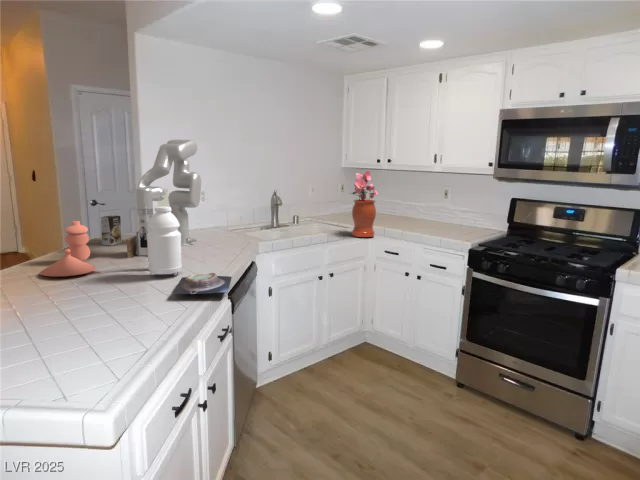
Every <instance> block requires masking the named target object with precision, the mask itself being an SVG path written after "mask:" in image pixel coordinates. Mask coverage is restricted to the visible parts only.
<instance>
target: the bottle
mask: <svg viewBox="0 0 640 480" xmlns="http://www.w3.org/2000/svg"><path fill="white" fill-rule="evenodd" d="M171 211H172V209H171V207H170V206H165V205H164V206H163V205H162V206H155V207H154V212H155V213H153V215H152V217H151V218H150V220H149V222H148V225H147V227H148V228H149V229H150V231H149V233H148V234H147V249H148V256H147V264H148V266H147V270H148V272H149V273H151V274H153V275H155V274H157V275H168V274H175V273H178V272H180V271H182V270H183V262H182V246H181V233H180V232H179V231H178V227H179V226H180V224H179V222H178V220H177V218H176V217H175V216H174V215H173V214H172V213H171Z"/></svg>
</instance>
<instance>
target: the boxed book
mask: <svg viewBox="0 0 640 480" xmlns="http://www.w3.org/2000/svg"><path fill="white" fill-rule="evenodd" d="M135 234H136V238H137V254H136V255H137V256H138V257H148V249H147V248H141V246H140V234H139V230H138V231H136V232H135ZM144 237H145V236H144ZM146 240H147V238H146Z"/></svg>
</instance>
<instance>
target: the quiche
mask: <svg viewBox="0 0 640 480" xmlns="http://www.w3.org/2000/svg"><path fill="white" fill-rule="evenodd" d="M232 278H233V277H232V276H229V275H217V274H216V273H214V272H210V273H196V274H192V275H188V276H184V277H183V276H182V277H181V278H180V280H179V282H178V283H177V284H176V286H175V287H174V289H173V290H172V292H171V294H179V295H181V294H184V295H198V294H199V295H202V294H215V293H216V294H218V293H228V291H229V288H230V285H231V282H232Z"/></svg>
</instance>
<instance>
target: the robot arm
mask: <svg viewBox="0 0 640 480" xmlns="http://www.w3.org/2000/svg"><path fill="white" fill-rule="evenodd" d="M197 151H198V144H197V143H196V142H195V140H193V139H170V140H168V141H167V142H166V143H163V144H161V145H160V146H159V149H158V151H157V154H156V157H155V160H154V163H153V166H152V167H151V168H149V170H147V171H146V172H145V173H144V174H143V175H142V176H141V178H140V180H139V182H138V184H137V187H136V189H135V199H136V200H135V201H136V202H135V203H136V215H137V217H138V231H139V234H140V246H141V248H147V240H146V238H147V234H148V233H149V231H150V229H149V228H148V227H147V225H148V222H149V220H150V218H151V217H152V216H153V215H154V203H153V202H160V201H163V200H164V199H165V198H166V196H167V193H166V191H165V189H164V188H163V187H161V186H154V185H153V186H152V185H151V184H152V183H153V182H155V181H157V180H158V179H161V178H163V177H166V176H167V175H169V174H170V172H171V169H172V165H173V173H172V184H173V186H174V187H175V188H177V189H184V190H173V191H171V192H169V194H168V197H167V199H168V200H167V201H168V204H169V207H171V209H172V211H170V212H171V213H172V214H173V215H174V216H175V217H176V218H177V220H178V222H179V224H180V226H179V227H178V231H179V232H180V233H181V247H188V246H192V244H193V243H197V241H198V240H197V238H191V236H190V231H189V230H190V229H189V228H190V227H189V214H188V211H187V210H186V208H187V209H190V208H191V209H195V208H197V207H198V206H199V205H200V200H201V191H202V178H201V175H200V173H198V172H196V171H195V172H194V171H190V161H189V159H188V158H191V157H193V156H194V155H195V154H196V153H197ZM185 189H188V190H185ZM144 236H145V237H144Z"/></svg>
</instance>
